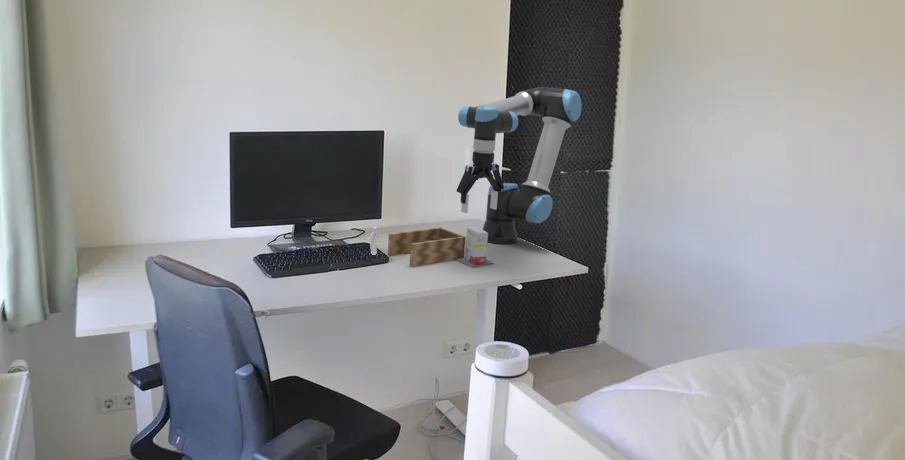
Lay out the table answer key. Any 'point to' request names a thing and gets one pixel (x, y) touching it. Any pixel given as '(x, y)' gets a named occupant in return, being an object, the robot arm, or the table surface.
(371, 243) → the figurine
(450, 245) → the wooden frame
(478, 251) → the ink box
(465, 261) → the mat
